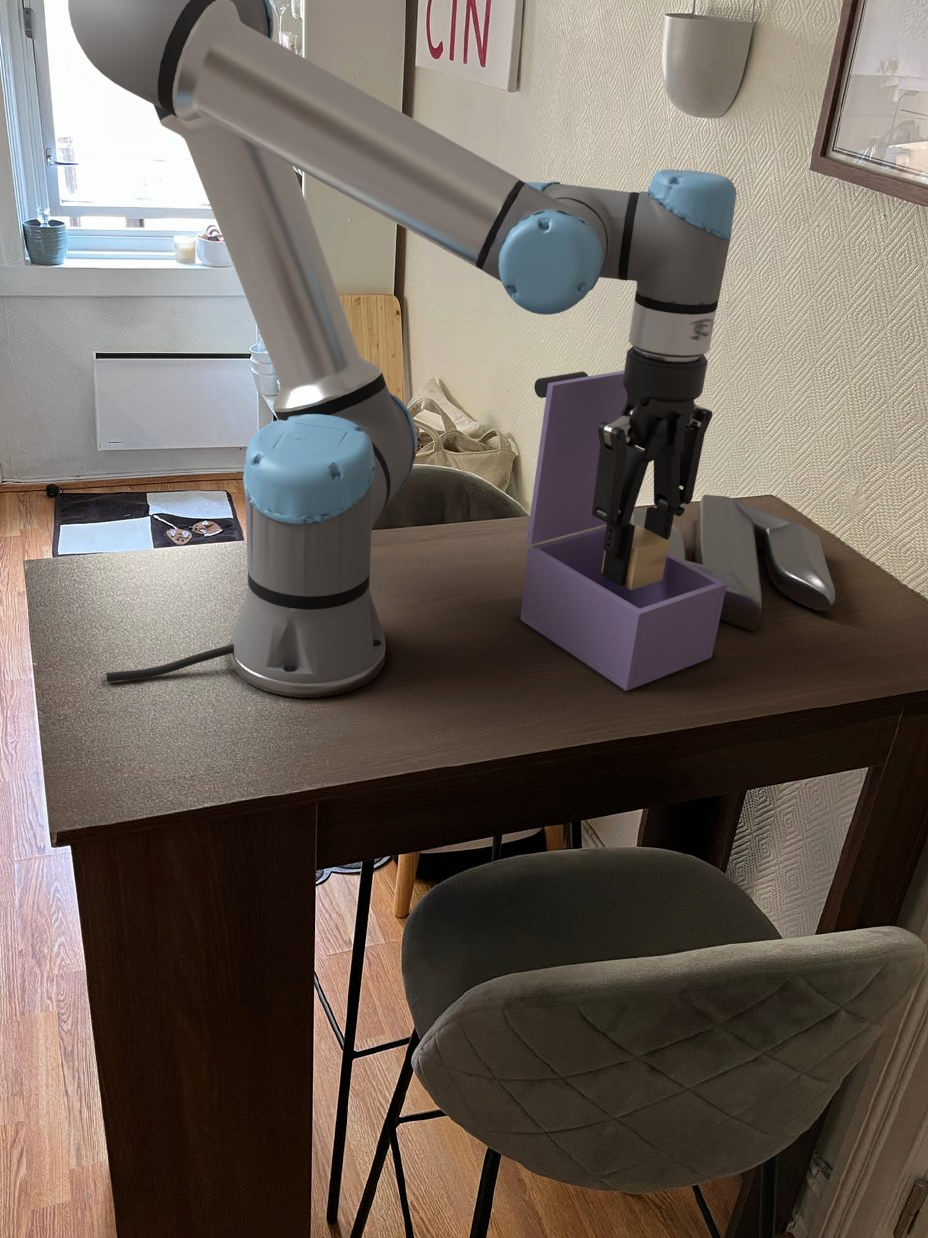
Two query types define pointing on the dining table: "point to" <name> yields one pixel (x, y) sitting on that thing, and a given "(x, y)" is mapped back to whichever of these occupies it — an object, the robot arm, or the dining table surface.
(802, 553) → the emblem
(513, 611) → the dining table surface
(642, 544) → the beech block
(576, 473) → the file box lid
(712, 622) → the box
